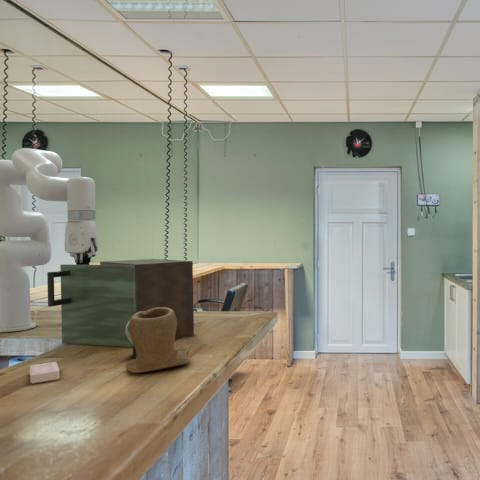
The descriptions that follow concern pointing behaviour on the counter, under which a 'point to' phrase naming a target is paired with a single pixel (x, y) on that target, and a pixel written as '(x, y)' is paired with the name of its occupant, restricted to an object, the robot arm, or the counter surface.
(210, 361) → the counter surface
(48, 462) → the counter surface
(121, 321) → the cupboard door
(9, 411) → the counter surface
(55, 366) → the soap bar
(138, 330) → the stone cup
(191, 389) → the counter surface
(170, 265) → the cupboard
